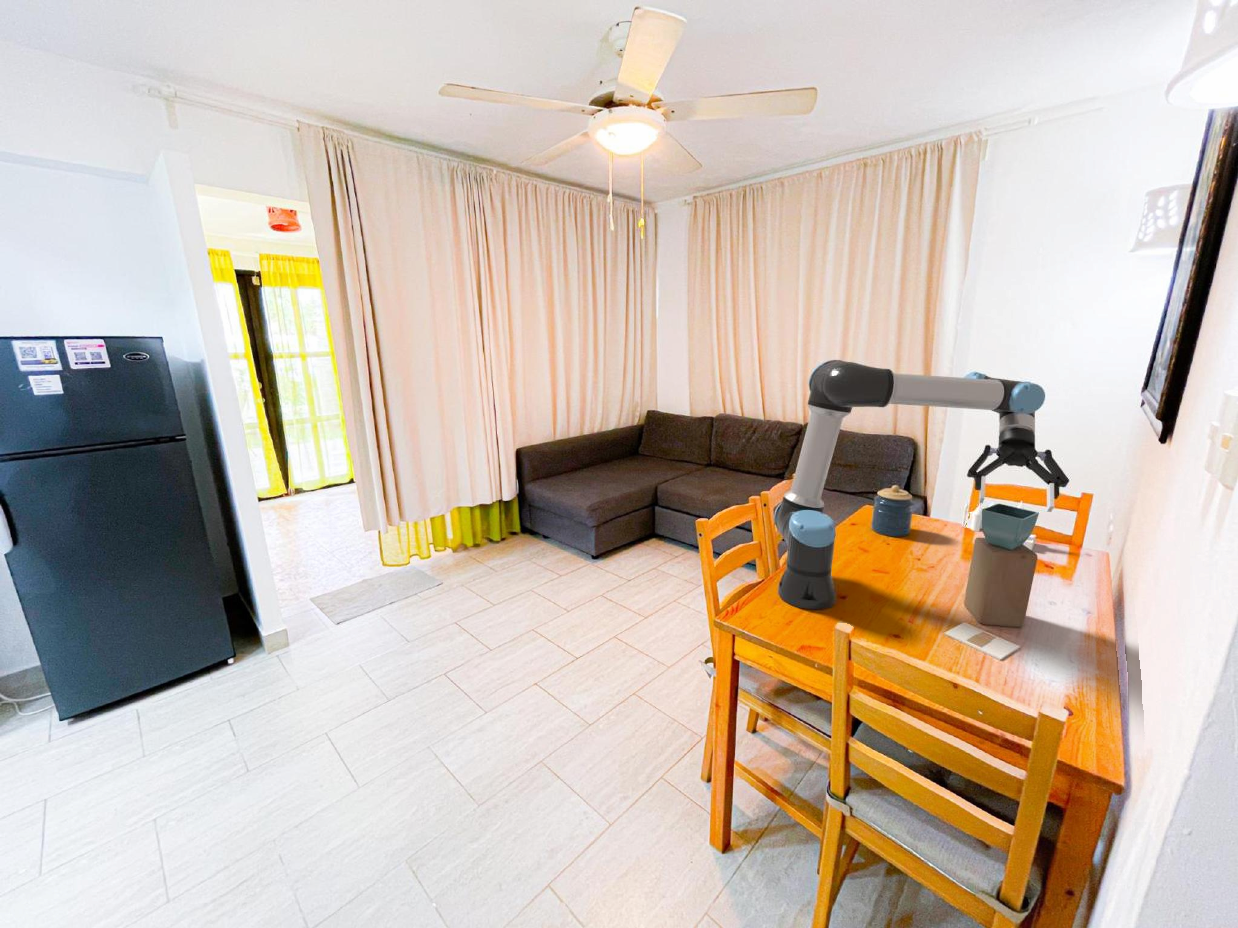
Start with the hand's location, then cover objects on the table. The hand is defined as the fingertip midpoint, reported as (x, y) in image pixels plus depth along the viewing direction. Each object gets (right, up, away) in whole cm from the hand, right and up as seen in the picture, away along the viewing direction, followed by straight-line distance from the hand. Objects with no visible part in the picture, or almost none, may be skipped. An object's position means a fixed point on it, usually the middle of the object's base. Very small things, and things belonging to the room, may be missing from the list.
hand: (1015, 505), depth 124 cm
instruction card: (-12, -32, -4) cm, 34 cm away
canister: (+3, -15, +63) cm, 65 cm away
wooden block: (-1, -30, +6) cm, 30 cm away
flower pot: (-2, -10, +1) cm, 11 cm away
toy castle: (+40, -16, +58) cm, 72 cm away
